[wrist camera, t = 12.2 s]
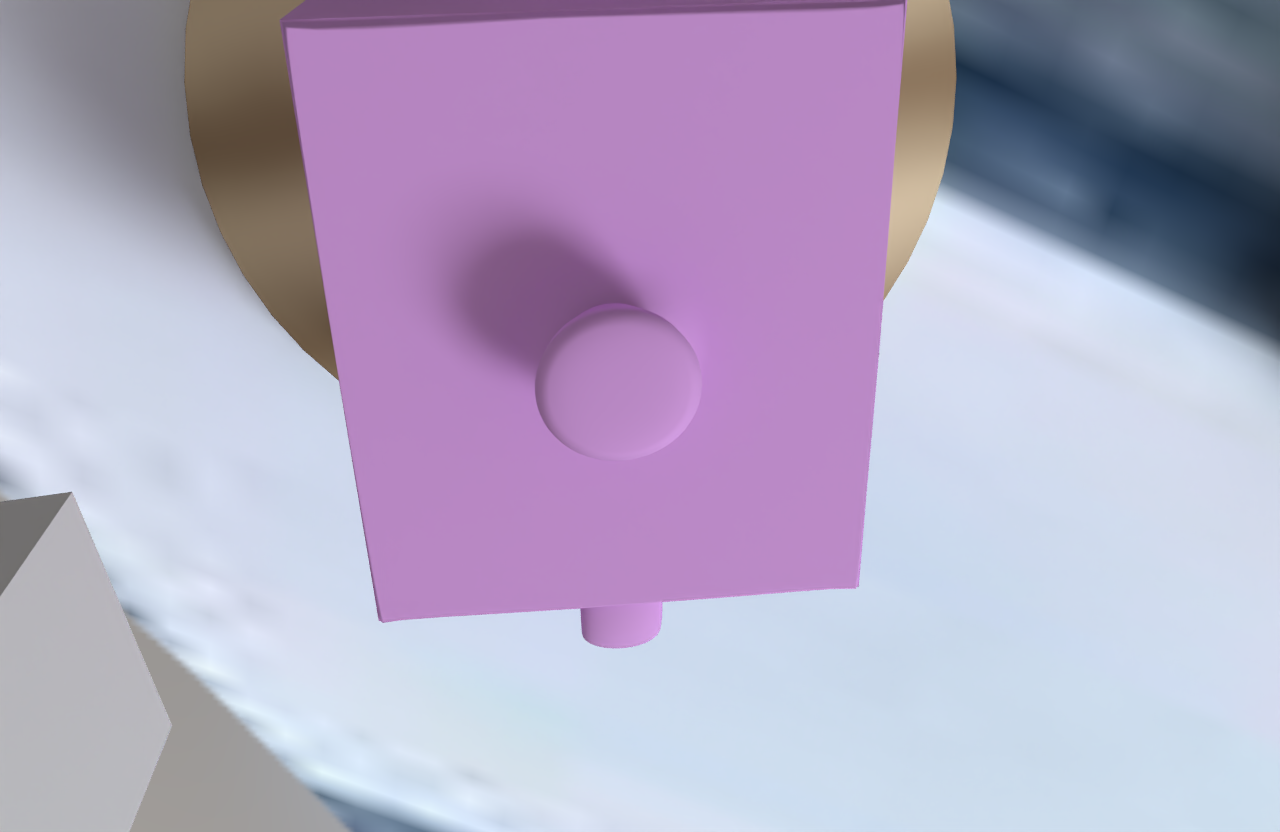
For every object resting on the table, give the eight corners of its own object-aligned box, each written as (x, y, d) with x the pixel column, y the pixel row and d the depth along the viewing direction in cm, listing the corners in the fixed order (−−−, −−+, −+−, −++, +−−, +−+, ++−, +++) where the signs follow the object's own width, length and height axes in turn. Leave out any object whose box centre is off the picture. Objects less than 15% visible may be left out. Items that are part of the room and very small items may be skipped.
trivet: (82, -256, 26) (63, -259, 24) (944, -373, 26) (962, -382, 25) (309, 485, 35) (303, 505, 34) (939, 391, 35) (952, 408, 34)
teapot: (764, 447, 34) (875, 741, 23) (431, 468, 34) (383, 781, 23) (789, -332, 25) (995, -460, 14) (330, -324, 24) (163, -451, 13)
